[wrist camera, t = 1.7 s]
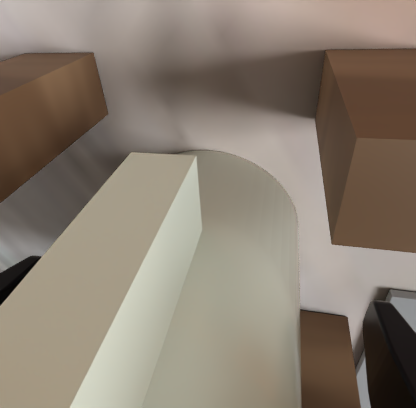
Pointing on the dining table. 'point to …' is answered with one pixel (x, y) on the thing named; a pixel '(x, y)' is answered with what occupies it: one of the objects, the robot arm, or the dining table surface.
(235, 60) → the dining table surface
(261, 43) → the dining table surface
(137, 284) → the cylinder with square knob
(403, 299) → the slate mat
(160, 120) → the dining table surface
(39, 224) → the dining table surface
